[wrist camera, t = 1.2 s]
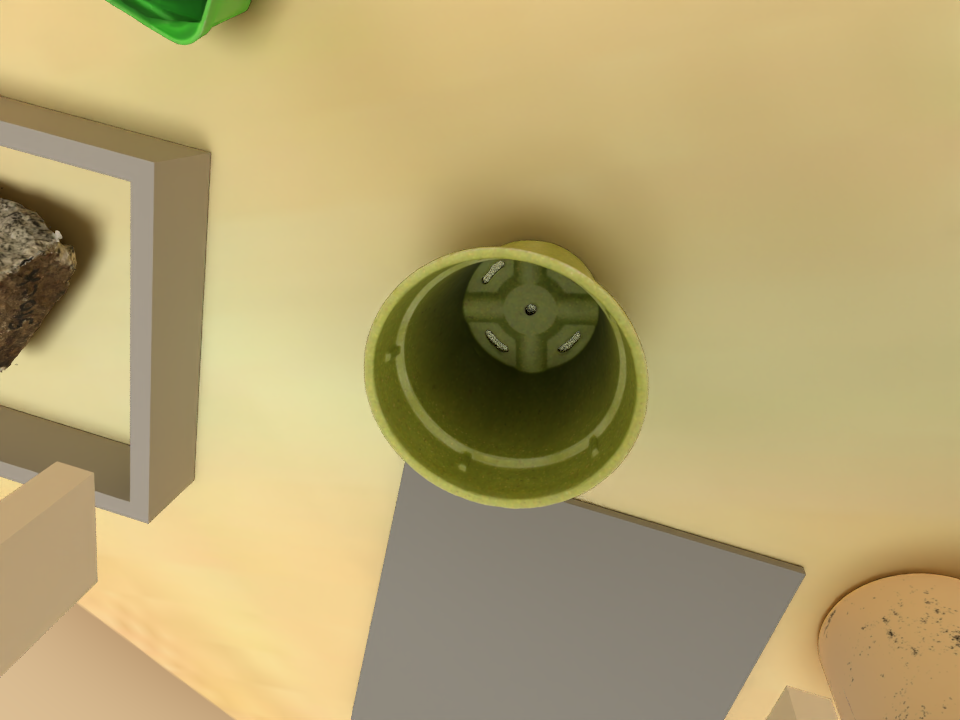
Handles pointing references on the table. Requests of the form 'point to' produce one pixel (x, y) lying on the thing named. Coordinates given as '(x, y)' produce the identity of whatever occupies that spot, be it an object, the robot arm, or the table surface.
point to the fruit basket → (181, 15)
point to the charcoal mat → (560, 615)
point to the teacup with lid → (895, 649)
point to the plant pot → (507, 376)
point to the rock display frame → (153, 314)
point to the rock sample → (28, 276)
